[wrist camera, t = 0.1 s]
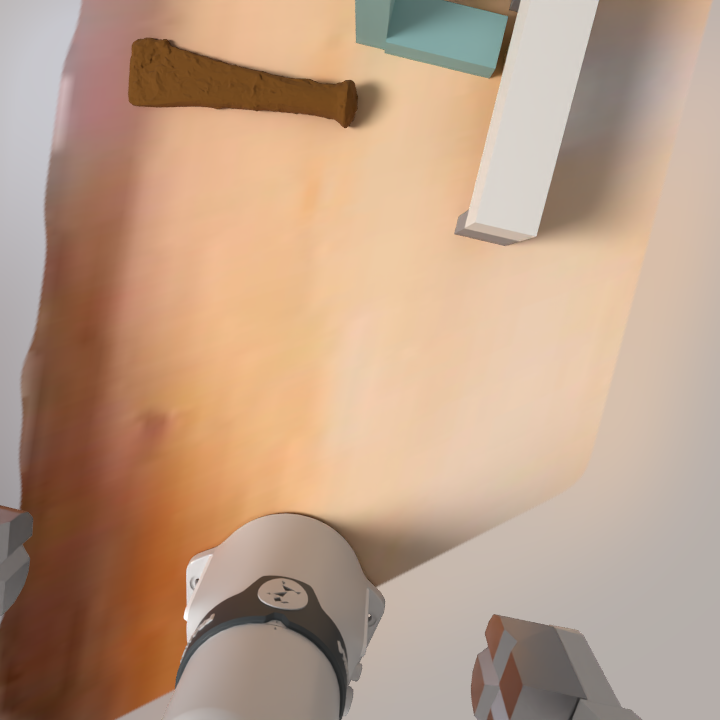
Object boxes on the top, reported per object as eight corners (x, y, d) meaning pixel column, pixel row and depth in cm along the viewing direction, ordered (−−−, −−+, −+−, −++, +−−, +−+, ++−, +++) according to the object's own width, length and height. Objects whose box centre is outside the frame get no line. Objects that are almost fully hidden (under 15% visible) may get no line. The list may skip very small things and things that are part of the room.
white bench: (504, 245, 47) (536, 236, 38) (454, 234, 47) (475, 222, 38) (566, 3, 44) (615, -64, 36) (513, -10, 44) (550, -80, 36)
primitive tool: (129, 106, 46) (111, 91, 42) (134, 38, 45) (115, 16, 41) (354, 135, 46) (354, 122, 43) (362, 67, 45) (362, 49, 42)
